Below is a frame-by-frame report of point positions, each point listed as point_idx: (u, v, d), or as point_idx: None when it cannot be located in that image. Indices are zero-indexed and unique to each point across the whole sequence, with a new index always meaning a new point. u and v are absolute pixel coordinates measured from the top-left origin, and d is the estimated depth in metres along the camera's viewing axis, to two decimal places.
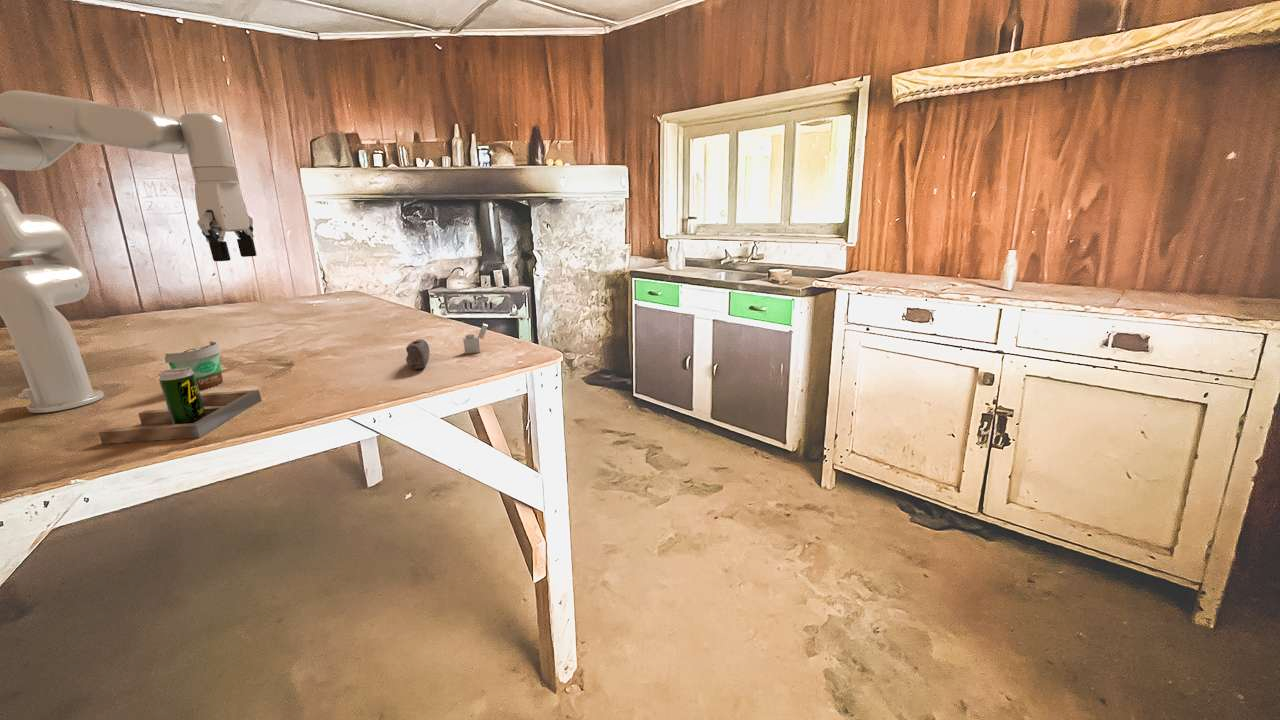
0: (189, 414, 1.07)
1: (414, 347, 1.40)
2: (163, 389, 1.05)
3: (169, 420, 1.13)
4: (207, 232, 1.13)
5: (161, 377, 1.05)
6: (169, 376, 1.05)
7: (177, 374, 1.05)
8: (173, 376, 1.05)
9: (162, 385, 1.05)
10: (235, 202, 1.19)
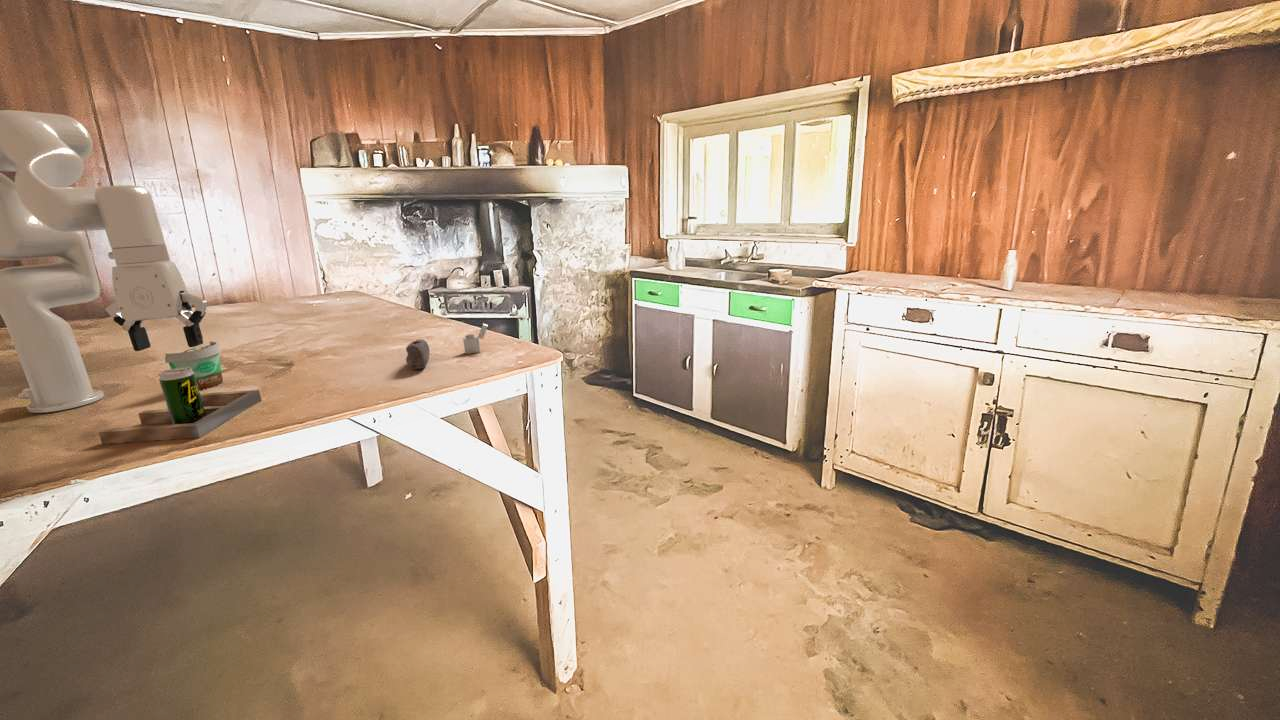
0: (189, 414, 1.07)
1: (414, 347, 1.40)
2: (163, 389, 1.05)
3: (169, 420, 1.13)
4: (203, 313, 1.04)
5: (161, 377, 1.05)
6: (169, 376, 1.05)
7: (177, 374, 1.05)
8: (173, 376, 1.05)
9: (162, 385, 1.05)
10: None
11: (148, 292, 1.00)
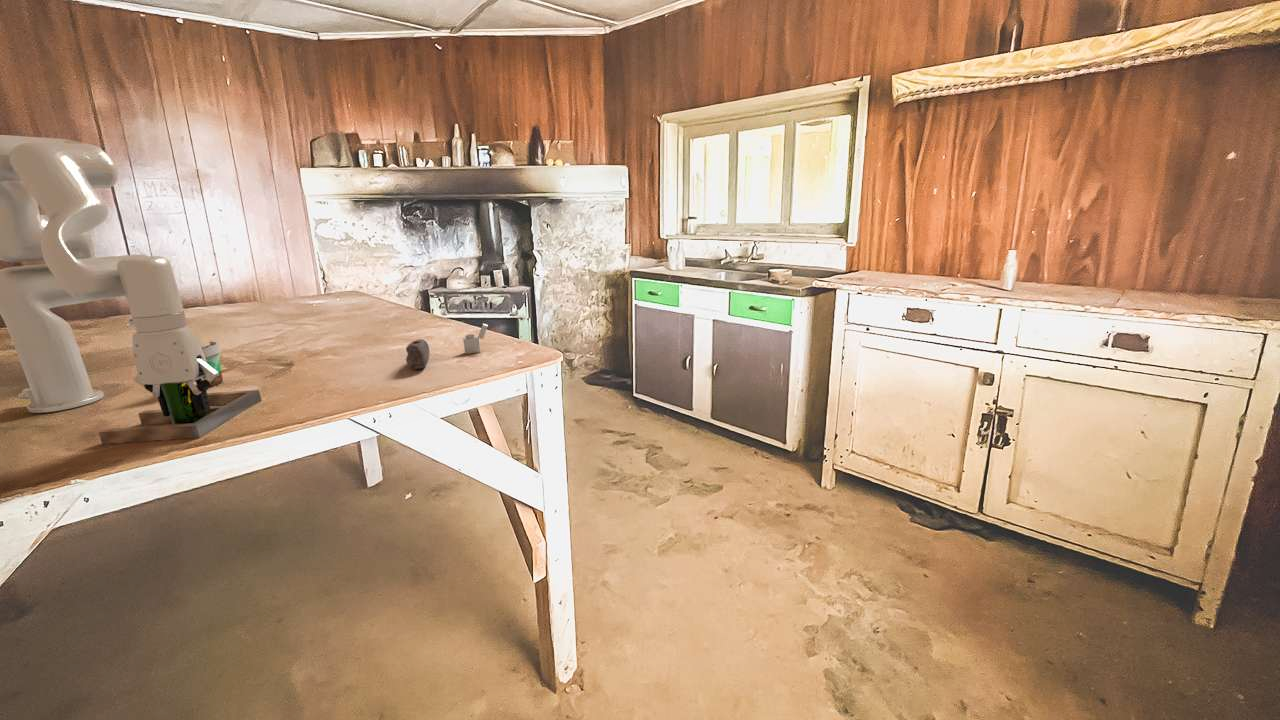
0: (189, 414, 1.07)
1: (414, 347, 1.40)
2: (163, 389, 1.05)
3: (169, 420, 1.13)
4: (211, 382, 1.08)
5: None
6: None
7: None
8: None
9: (162, 385, 1.05)
10: None
11: (167, 358, 1.03)
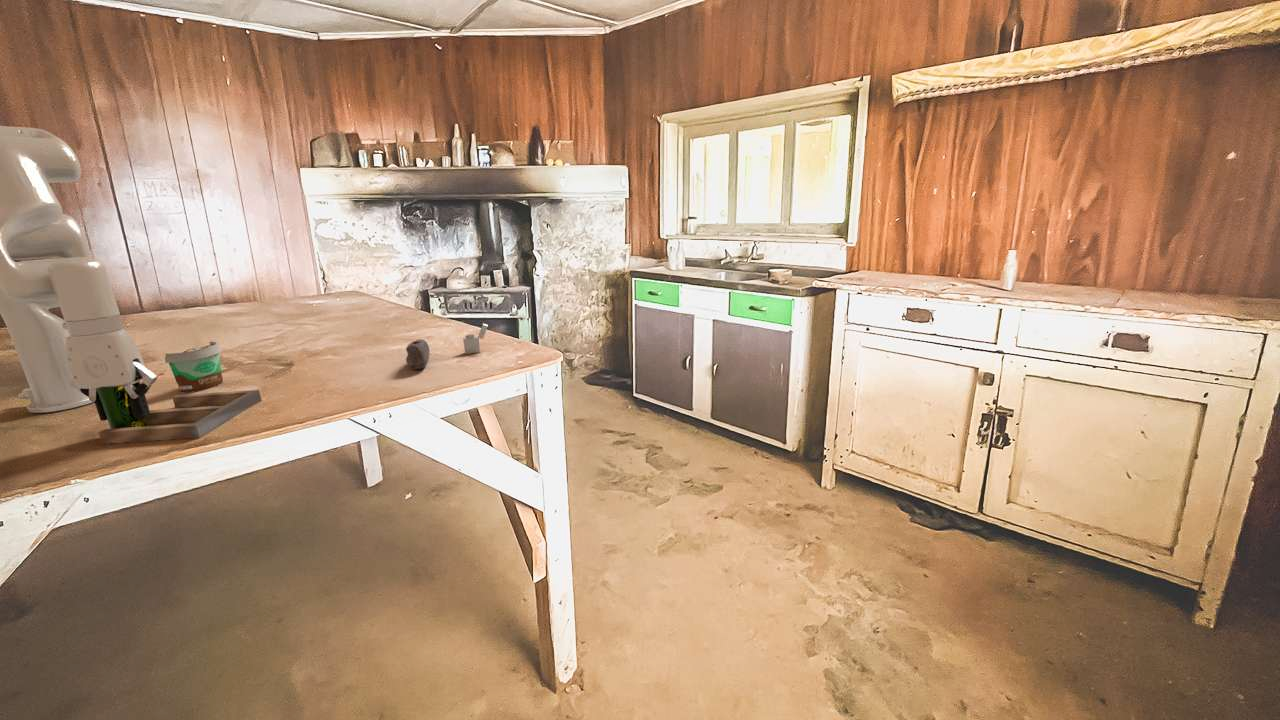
0: (127, 418, 1.07)
1: (414, 347, 1.40)
2: (99, 393, 1.04)
3: (169, 420, 1.13)
4: (149, 386, 1.07)
5: None
6: None
7: None
8: None
9: (98, 389, 1.04)
10: None
11: (102, 361, 1.02)
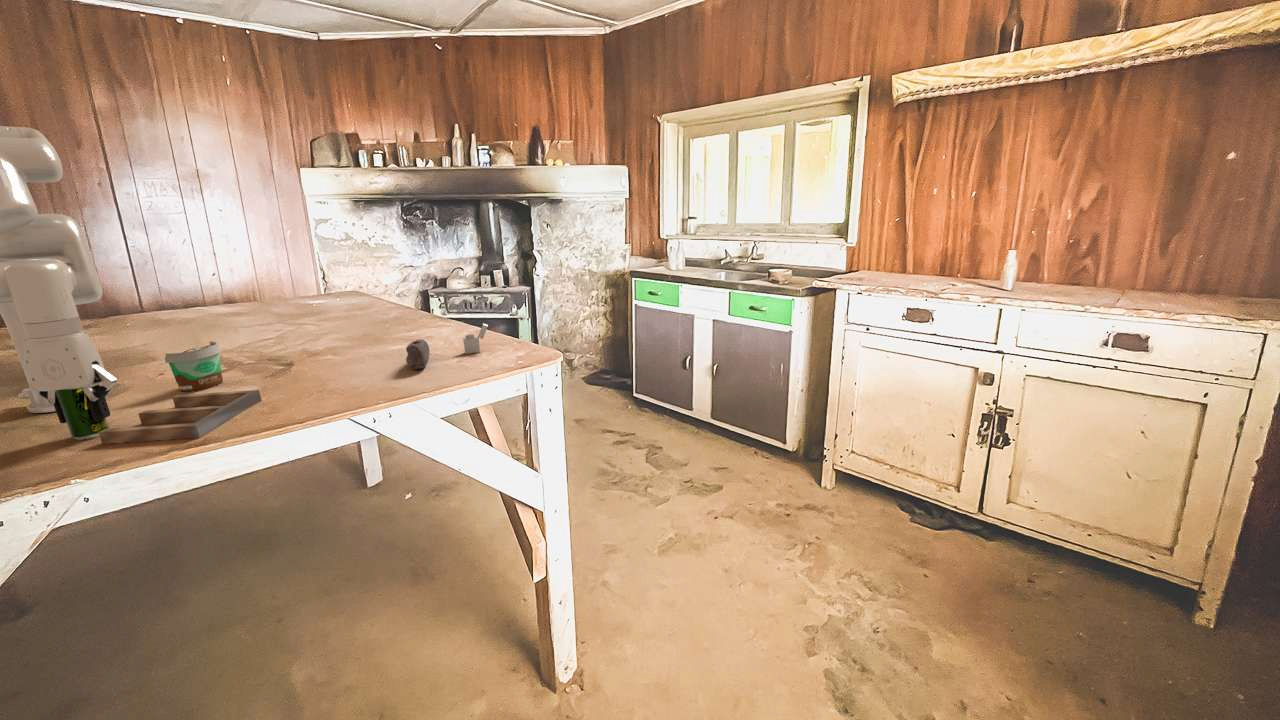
0: (86, 421, 1.06)
1: (414, 347, 1.40)
2: (58, 396, 1.04)
3: (169, 420, 1.13)
4: (109, 388, 1.07)
5: None
6: None
7: None
8: None
9: (56, 392, 1.04)
10: None
11: (59, 364, 1.02)
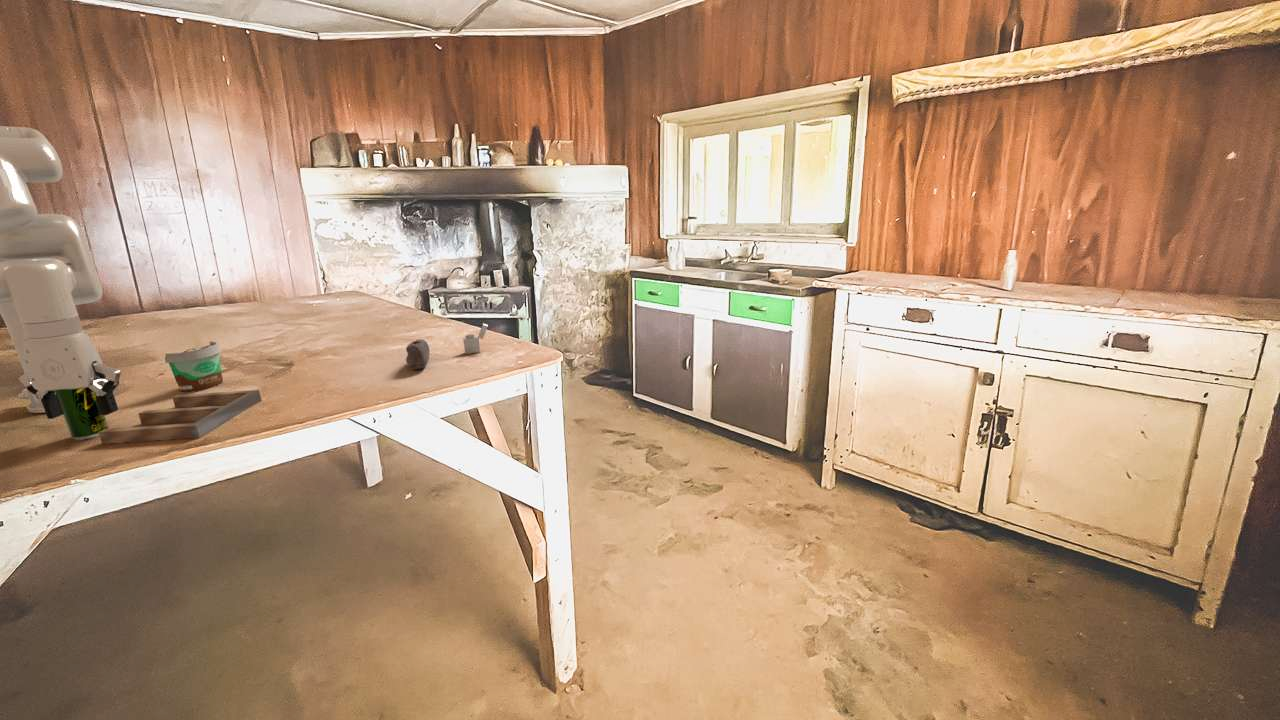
0: (86, 421, 1.06)
1: (414, 347, 1.40)
2: (57, 396, 1.04)
3: (169, 420, 1.13)
4: (117, 382, 1.07)
5: None
6: None
7: None
8: None
9: (56, 392, 1.04)
10: None
11: (59, 364, 1.02)
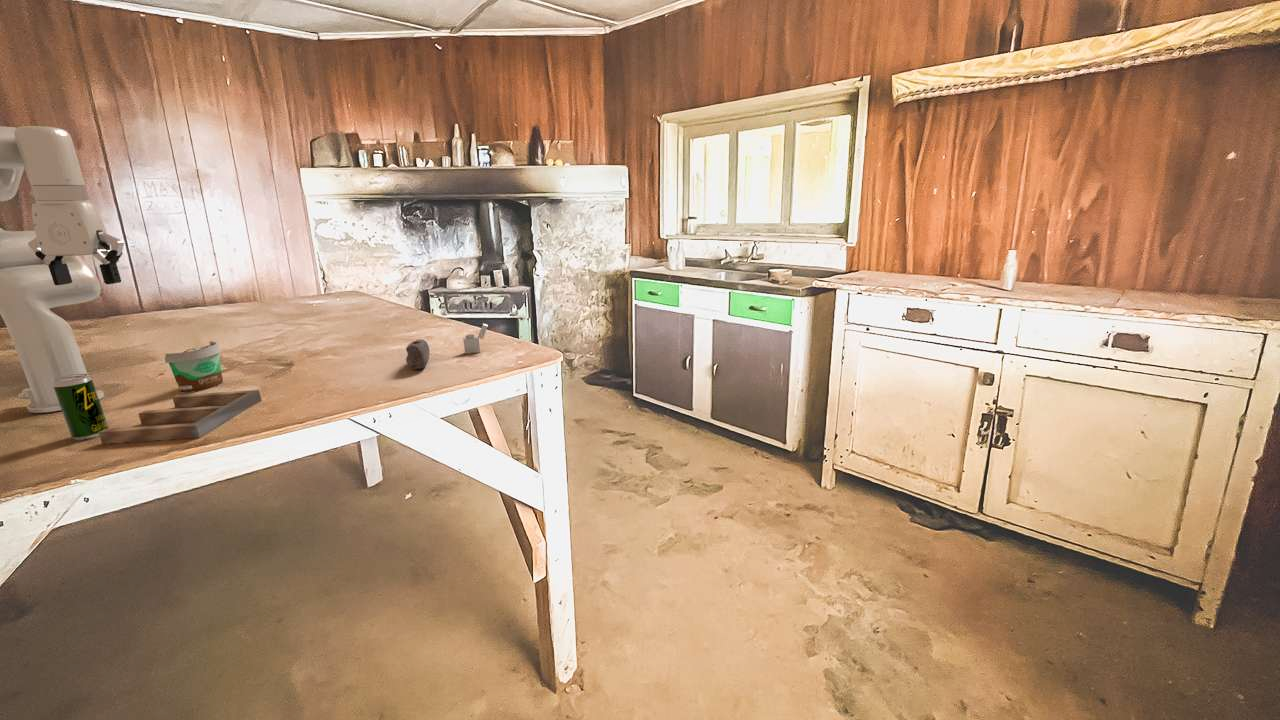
0: (86, 421, 1.06)
1: (414, 347, 1.40)
2: (57, 396, 1.04)
3: (169, 420, 1.13)
4: (120, 252, 1.11)
5: (55, 384, 1.04)
6: (63, 383, 1.03)
7: (71, 381, 1.04)
8: (67, 383, 1.04)
9: (56, 392, 1.04)
10: None
11: (65, 229, 1.06)
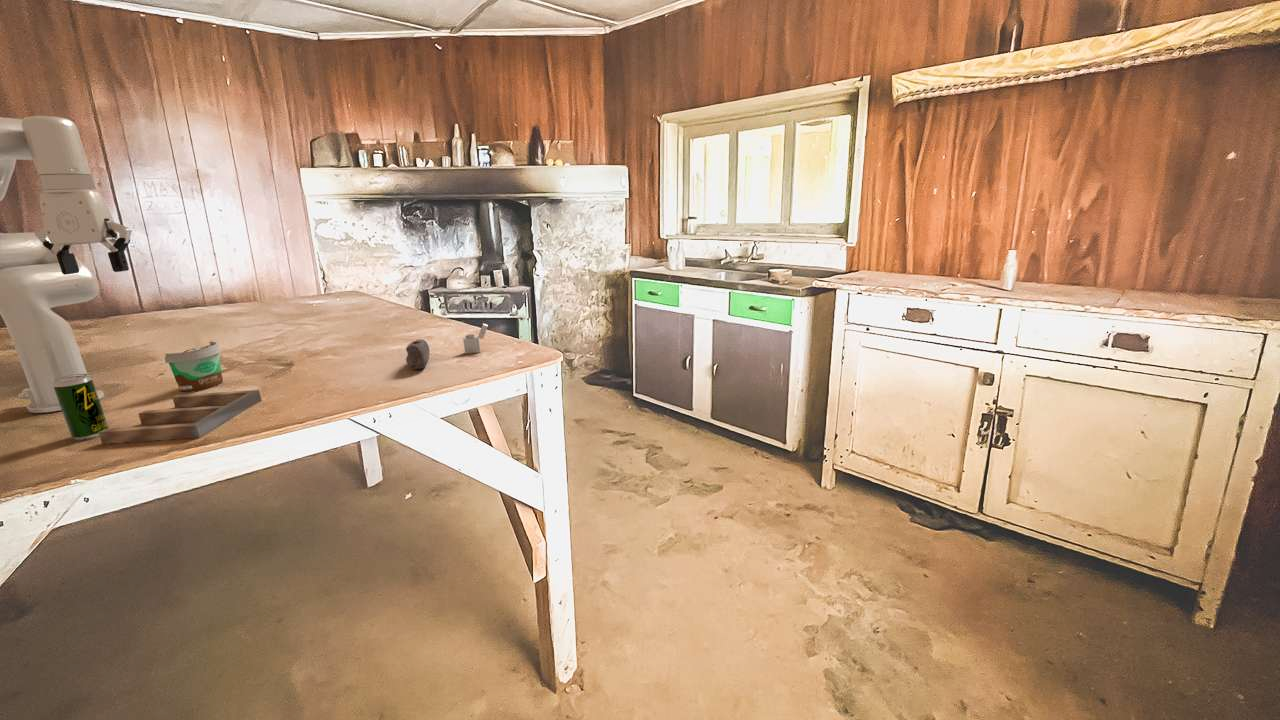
0: (86, 421, 1.06)
1: (414, 347, 1.40)
2: (58, 396, 1.04)
3: (169, 420, 1.13)
4: (128, 240, 1.12)
5: (55, 384, 1.04)
6: (63, 383, 1.03)
7: (71, 380, 1.04)
8: (67, 383, 1.04)
9: (56, 392, 1.04)
10: None
11: (73, 217, 1.08)
